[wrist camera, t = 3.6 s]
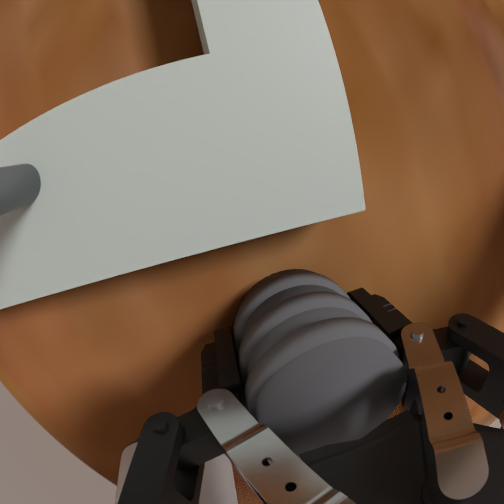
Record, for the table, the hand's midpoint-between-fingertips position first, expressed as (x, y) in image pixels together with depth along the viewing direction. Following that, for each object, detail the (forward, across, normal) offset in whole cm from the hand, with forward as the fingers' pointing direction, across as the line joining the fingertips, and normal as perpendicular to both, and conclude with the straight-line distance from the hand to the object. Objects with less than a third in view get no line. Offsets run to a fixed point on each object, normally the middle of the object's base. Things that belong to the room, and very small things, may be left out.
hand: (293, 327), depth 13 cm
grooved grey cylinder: (+1, 0, 0) cm, 1 cm away
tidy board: (+1, +6, -12) cm, 13 cm away
